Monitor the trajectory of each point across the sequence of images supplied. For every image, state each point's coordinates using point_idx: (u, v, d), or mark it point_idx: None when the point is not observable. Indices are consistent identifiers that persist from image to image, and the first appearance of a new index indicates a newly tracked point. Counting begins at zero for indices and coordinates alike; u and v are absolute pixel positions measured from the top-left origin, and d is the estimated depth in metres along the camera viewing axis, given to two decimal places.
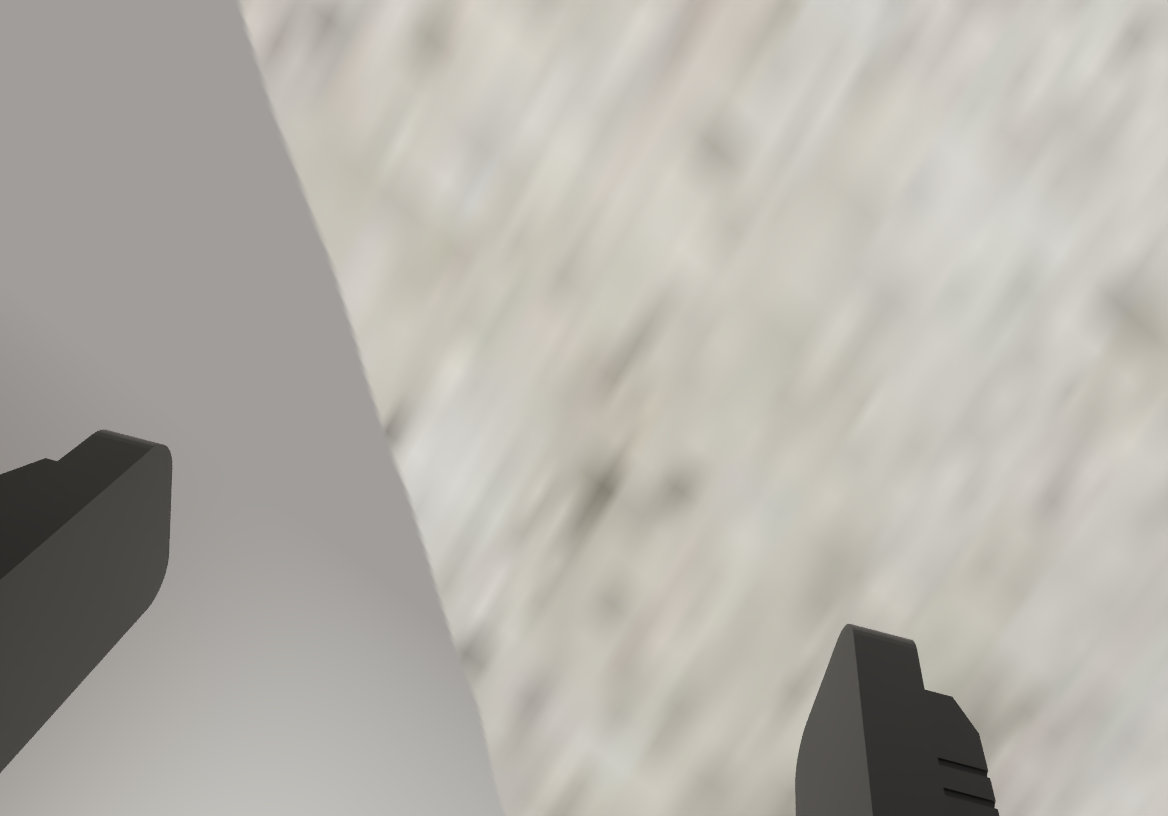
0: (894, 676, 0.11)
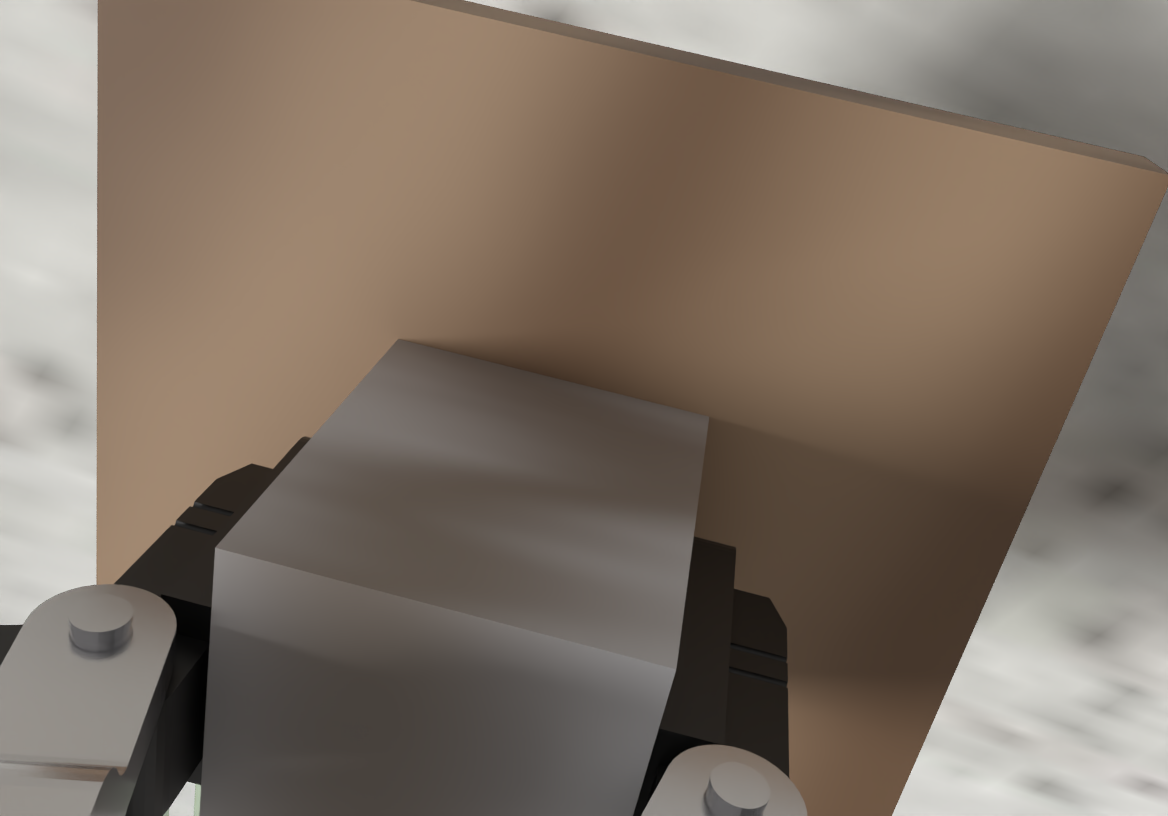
0: (707, 574, 0.12)
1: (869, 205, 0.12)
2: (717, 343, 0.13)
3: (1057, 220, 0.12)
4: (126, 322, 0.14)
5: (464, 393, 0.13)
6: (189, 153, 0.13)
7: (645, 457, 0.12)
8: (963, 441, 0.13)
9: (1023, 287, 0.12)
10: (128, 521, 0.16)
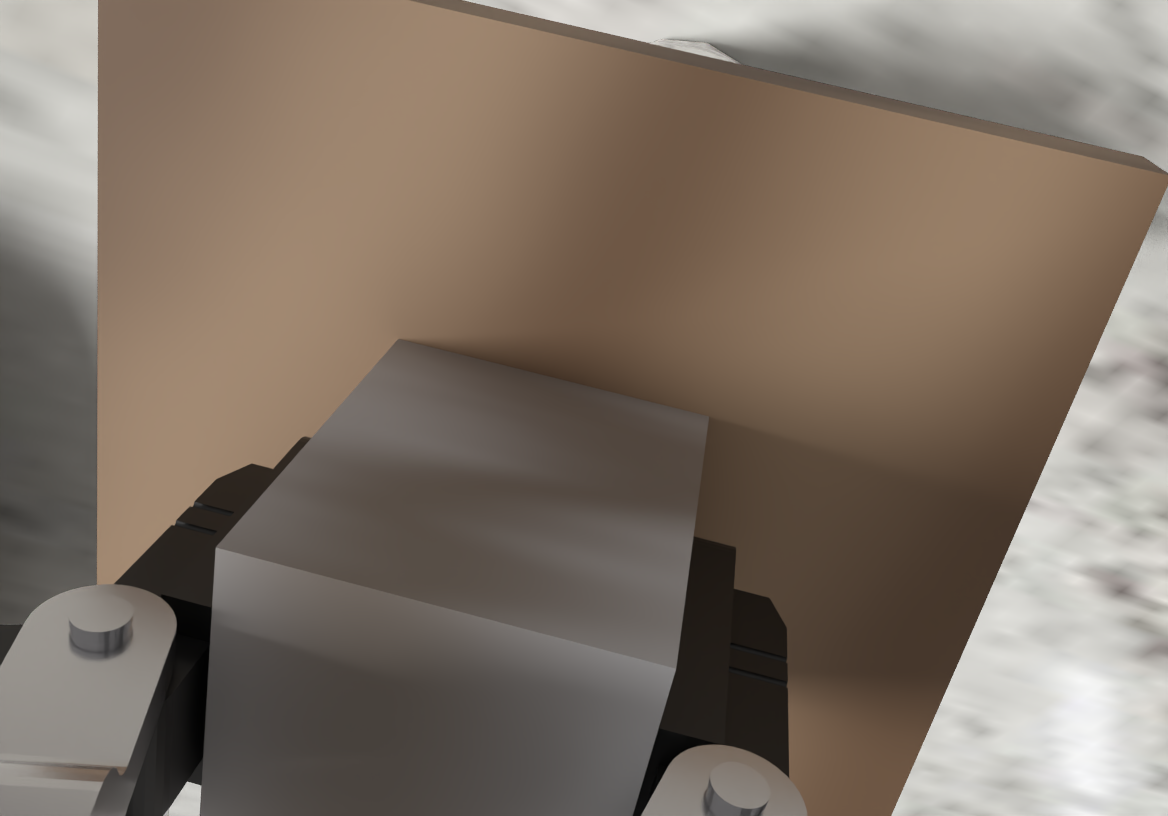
0: (707, 574, 0.12)
1: (868, 204, 0.12)
2: (717, 343, 0.13)
3: (1056, 220, 0.12)
4: (126, 322, 0.14)
5: (464, 393, 0.13)
6: (189, 153, 0.13)
7: (645, 457, 0.12)
8: (962, 441, 0.13)
9: (1022, 287, 0.12)
10: (128, 521, 0.16)
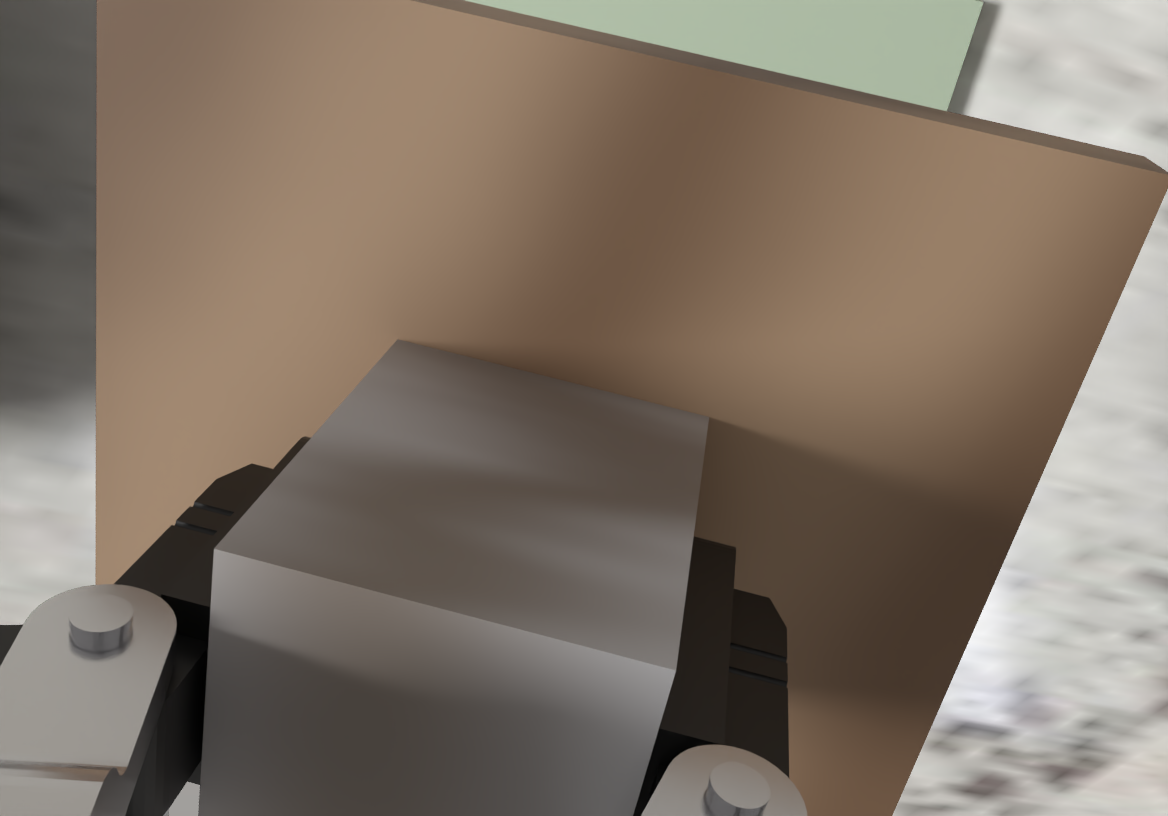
0: (707, 574, 0.12)
1: (868, 204, 0.12)
2: (717, 343, 0.13)
3: (1057, 220, 0.12)
4: (125, 322, 0.14)
5: (463, 393, 0.13)
6: (188, 153, 0.13)
7: (645, 458, 0.12)
8: (963, 441, 0.13)
9: (1023, 287, 0.12)
10: (127, 521, 0.16)
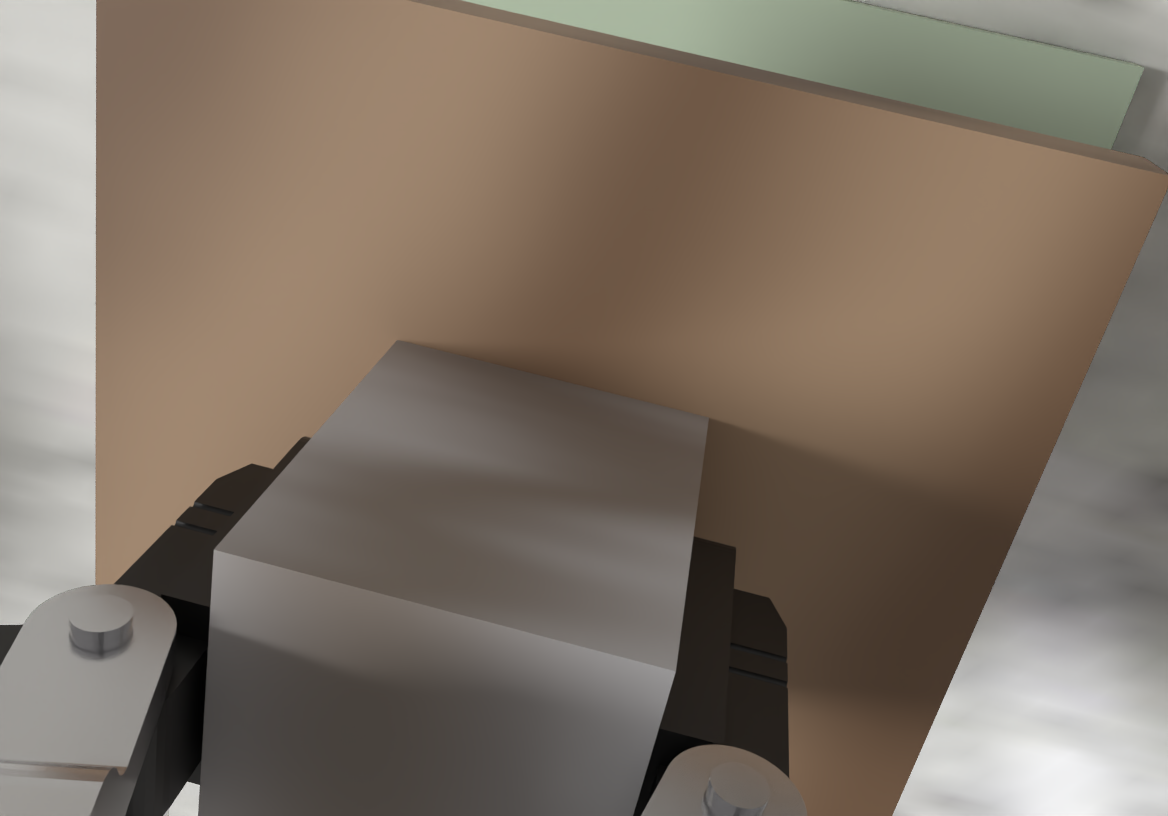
0: (707, 574, 0.12)
1: (868, 205, 0.12)
2: (717, 344, 0.13)
3: (1057, 221, 0.12)
4: (125, 323, 0.14)
5: (463, 394, 0.13)
6: (188, 154, 0.13)
7: (645, 458, 0.12)
8: (963, 442, 0.13)
9: (1023, 288, 0.12)
10: (127, 522, 0.16)
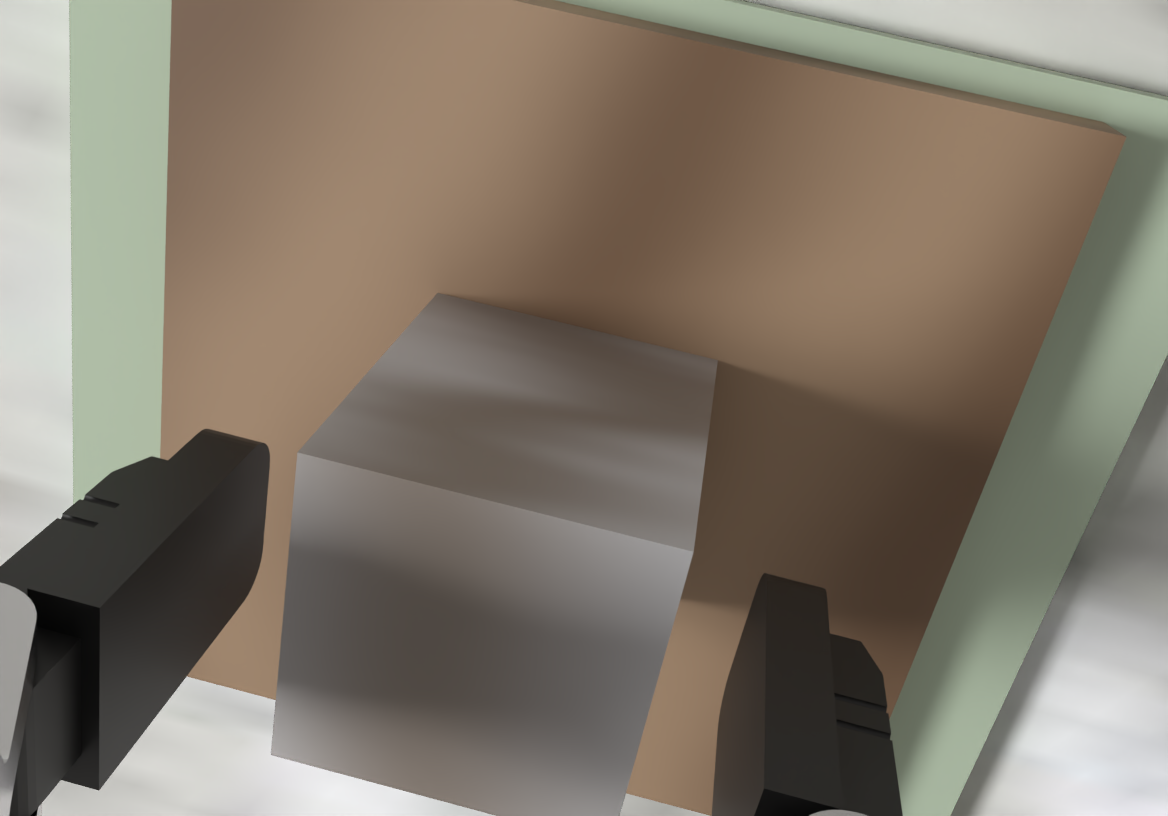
0: (801, 619, 0.12)
1: (859, 165, 0.14)
2: (724, 293, 0.15)
3: (1026, 177, 0.13)
4: (191, 281, 0.16)
5: (499, 337, 0.14)
6: (251, 126, 0.15)
7: (661, 391, 0.14)
8: (945, 379, 0.15)
9: (997, 238, 0.14)
10: None
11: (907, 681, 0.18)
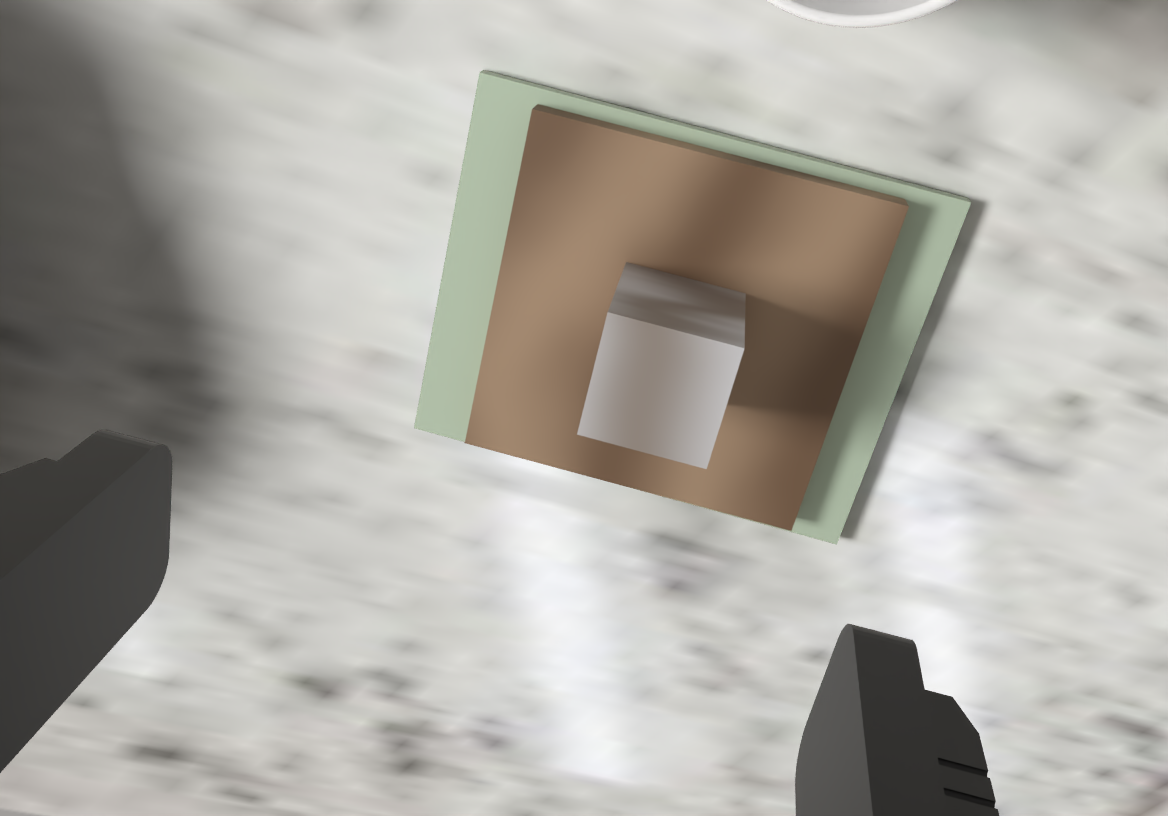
0: (894, 676, 0.11)
1: (806, 214, 0.34)
2: (749, 264, 0.35)
3: (871, 221, 0.34)
4: (515, 254, 0.36)
5: (657, 280, 0.35)
6: (553, 189, 0.35)
7: (725, 302, 0.34)
8: (840, 303, 0.35)
9: (860, 244, 0.34)
10: (499, 339, 0.37)
11: (825, 450, 0.38)
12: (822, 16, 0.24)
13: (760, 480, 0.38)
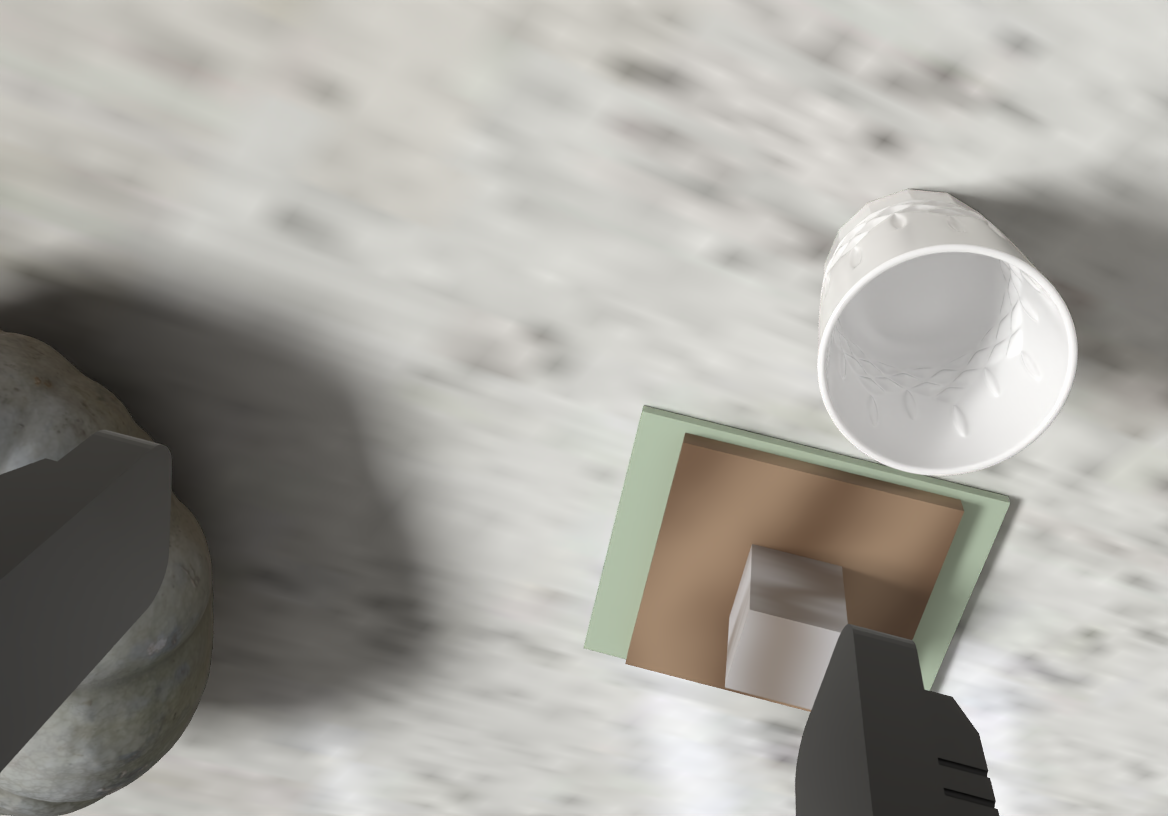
0: (894, 676, 0.11)
1: (887, 515, 0.46)
2: (845, 547, 0.47)
3: (936, 520, 0.46)
4: (668, 537, 0.49)
5: (777, 562, 0.47)
6: (697, 495, 0.47)
7: (828, 581, 0.47)
8: (913, 574, 0.47)
9: (928, 535, 0.47)
10: (654, 594, 0.50)
11: None
12: (909, 469, 0.36)
13: None
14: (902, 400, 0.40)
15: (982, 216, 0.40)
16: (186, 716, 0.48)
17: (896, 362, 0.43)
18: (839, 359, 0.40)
